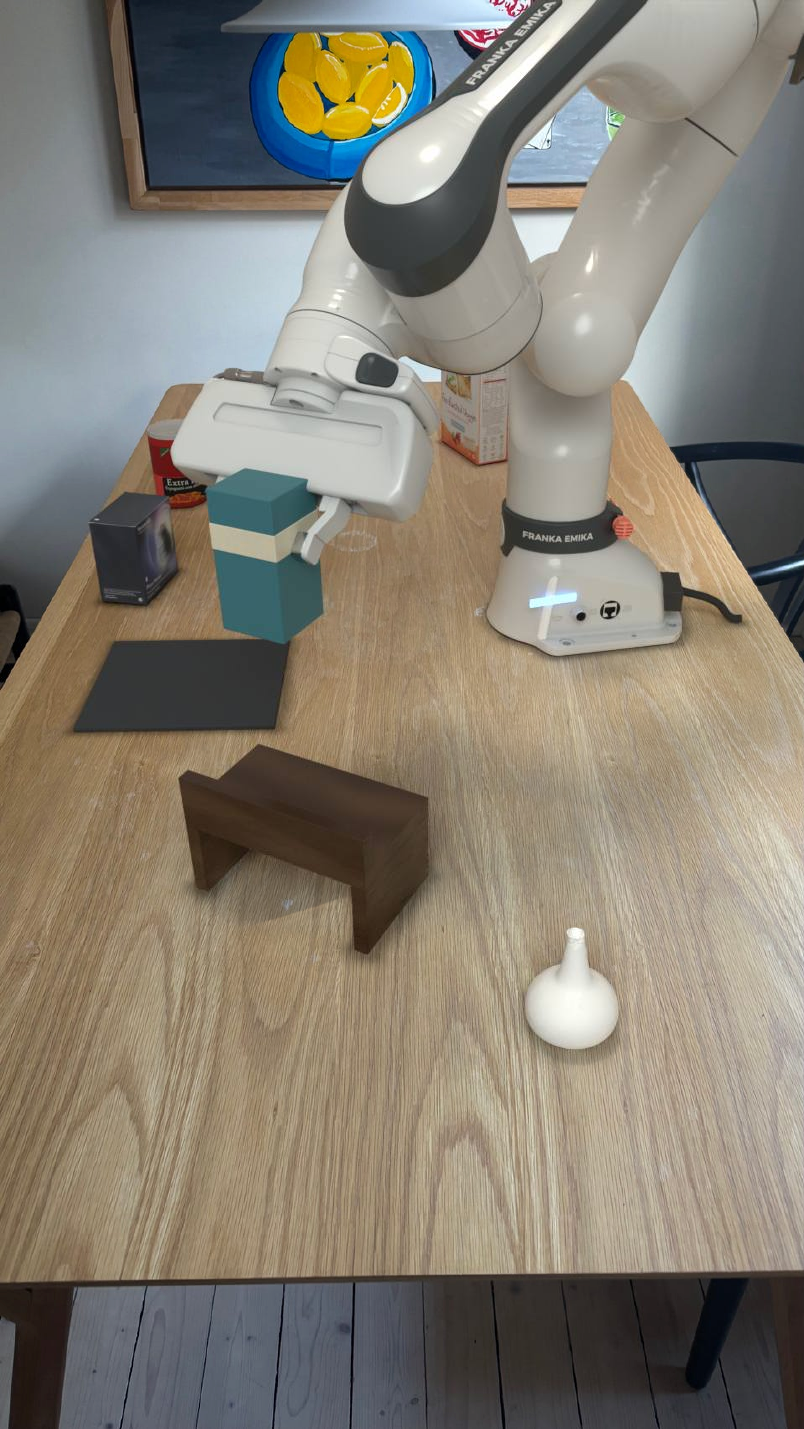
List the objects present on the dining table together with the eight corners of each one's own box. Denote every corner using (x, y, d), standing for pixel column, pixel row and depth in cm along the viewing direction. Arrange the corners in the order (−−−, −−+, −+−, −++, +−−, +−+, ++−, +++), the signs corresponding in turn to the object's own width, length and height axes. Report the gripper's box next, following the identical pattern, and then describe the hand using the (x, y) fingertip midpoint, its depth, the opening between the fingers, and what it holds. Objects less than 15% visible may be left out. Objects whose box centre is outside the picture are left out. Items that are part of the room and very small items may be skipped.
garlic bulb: (552, 1072, 67) (561, 988, 63) (507, 1004, 72) (512, 921, 68) (633, 1040, 69) (647, 957, 65) (583, 976, 74) (594, 894, 70)
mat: (290, 641, 117) (289, 638, 117) (274, 729, 102) (274, 725, 102) (114, 644, 117) (114, 640, 117) (73, 731, 102) (72, 728, 102)
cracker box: (438, 441, 176) (439, 313, 165) (470, 437, 178) (472, 310, 166) (475, 467, 165) (478, 331, 154) (508, 461, 167) (514, 327, 156)
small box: (149, 607, 125) (136, 526, 119) (99, 602, 126) (84, 522, 120) (182, 570, 133) (171, 493, 128) (135, 567, 134) (122, 490, 129)
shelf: (266, 818, 90) (255, 713, 84) (428, 874, 84) (429, 765, 78) (195, 887, 83) (177, 777, 77) (367, 955, 76) (362, 841, 70)
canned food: (166, 512, 150) (155, 438, 144) (150, 495, 156) (139, 423, 150) (215, 503, 153) (207, 430, 147) (199, 486, 159) (190, 415, 153)
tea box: (265, 599, 81) (251, 464, 75) (325, 613, 79) (315, 475, 73) (222, 629, 77) (203, 488, 71) (284, 645, 75) (270, 501, 69)
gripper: (191, 342, 77) (126, 509, 75) (433, 372, 69) (366, 560, 67) (233, 387, 83) (173, 543, 81) (461, 420, 75) (400, 594, 73)
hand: (262, 551), depth 74 cm, fingers closed on tea box, 5 cm apart
